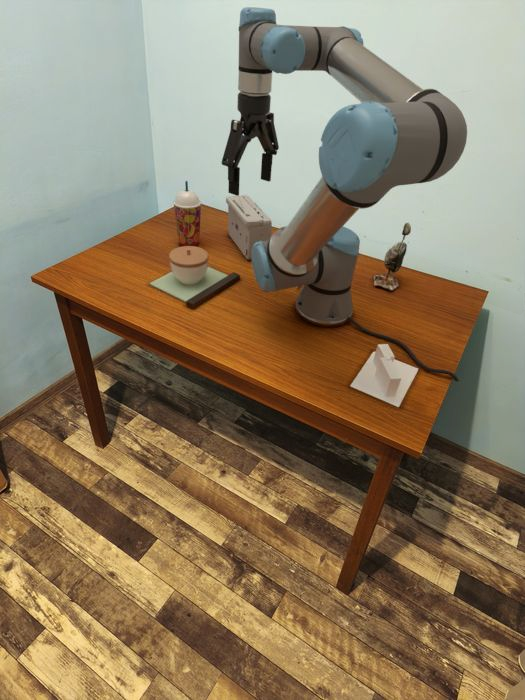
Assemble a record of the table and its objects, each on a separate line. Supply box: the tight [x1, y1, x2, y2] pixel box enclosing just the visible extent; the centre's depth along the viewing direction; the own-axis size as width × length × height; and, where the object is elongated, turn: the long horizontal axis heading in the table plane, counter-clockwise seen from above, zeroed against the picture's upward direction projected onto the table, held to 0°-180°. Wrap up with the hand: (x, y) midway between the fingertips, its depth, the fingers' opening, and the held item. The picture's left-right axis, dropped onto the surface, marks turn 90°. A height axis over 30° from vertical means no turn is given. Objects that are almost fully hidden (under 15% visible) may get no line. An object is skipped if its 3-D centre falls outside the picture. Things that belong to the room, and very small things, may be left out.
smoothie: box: [172, 180, 202, 247], centre depth 142 cm, size 8×8×20 cm
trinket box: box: [168, 246, 209, 285], centre depth 127 cm, size 11×11×9 cm
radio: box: [225, 194, 273, 261], centre depth 143 cm, size 21×8×20 cm, turn 22°
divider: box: [185, 271, 241, 310], centre depth 126 cm, size 2×20×2 cm, turn 144°
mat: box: [149, 266, 229, 304], centre depth 130 cm, size 14×18×1 cm
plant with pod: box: [373, 222, 412, 291], centre depth 131 cm, size 8×11×20 cm
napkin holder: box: [349, 343, 419, 408], centre depth 102 cm, size 15×11×6 cm
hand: (250, 186), depth 117 cm, fingers open, 13 cm apart
